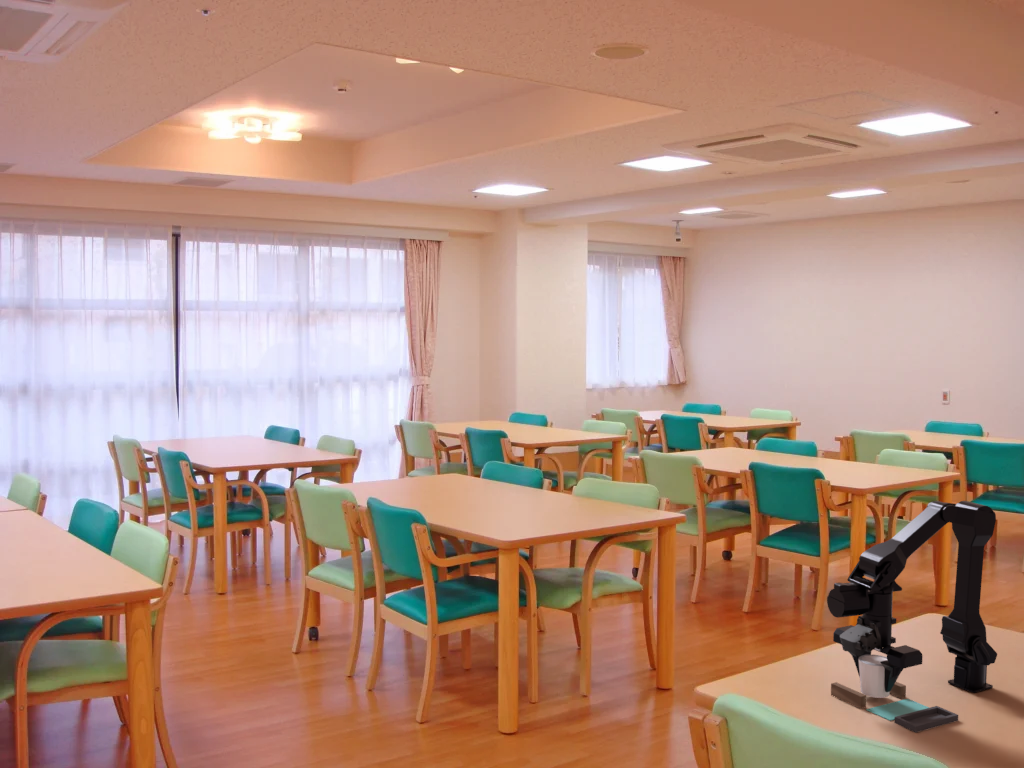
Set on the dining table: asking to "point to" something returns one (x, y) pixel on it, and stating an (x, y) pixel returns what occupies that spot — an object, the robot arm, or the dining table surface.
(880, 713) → the teal pad
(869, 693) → the white cup
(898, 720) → the trap pit
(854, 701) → the brown bar
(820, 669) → the dining table surface
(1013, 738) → the dining table surface
